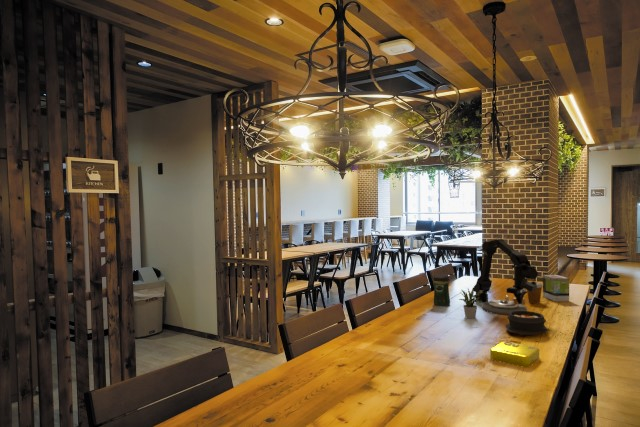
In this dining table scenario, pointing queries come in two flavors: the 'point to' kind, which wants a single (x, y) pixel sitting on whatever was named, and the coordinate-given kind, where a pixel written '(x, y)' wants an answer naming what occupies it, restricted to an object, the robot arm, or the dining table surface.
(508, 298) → the dowel
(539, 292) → the disposable coffee cup
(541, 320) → the casserole
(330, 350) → the dining table surface
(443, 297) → the coffee jar
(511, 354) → the element tile
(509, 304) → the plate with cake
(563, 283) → the tea box
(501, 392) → the dining table surface
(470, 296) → the house plant
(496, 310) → the base plate
